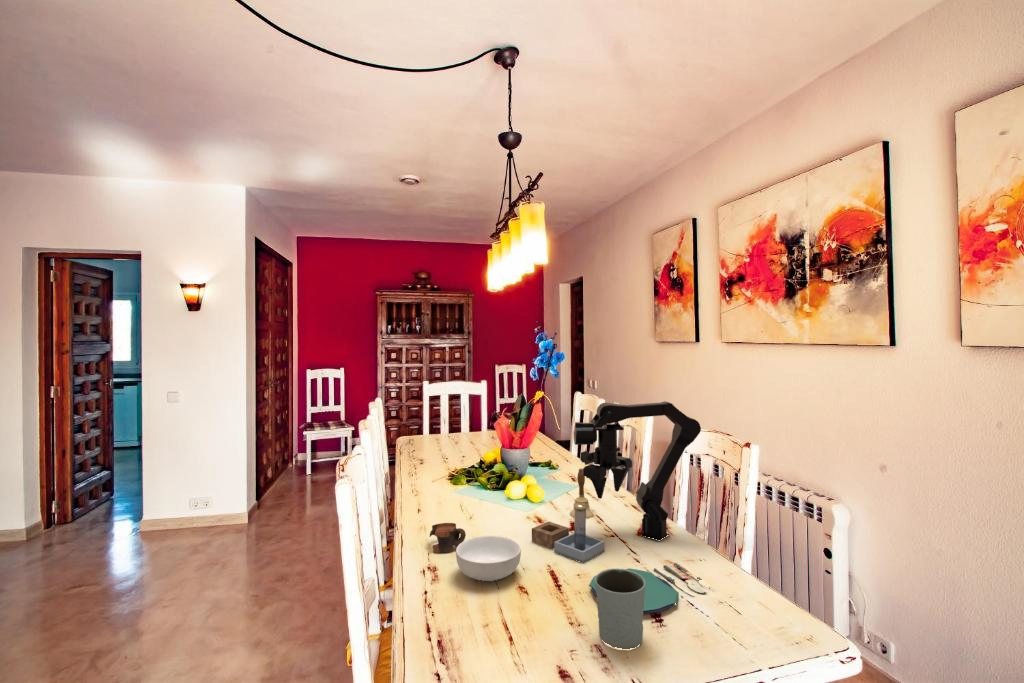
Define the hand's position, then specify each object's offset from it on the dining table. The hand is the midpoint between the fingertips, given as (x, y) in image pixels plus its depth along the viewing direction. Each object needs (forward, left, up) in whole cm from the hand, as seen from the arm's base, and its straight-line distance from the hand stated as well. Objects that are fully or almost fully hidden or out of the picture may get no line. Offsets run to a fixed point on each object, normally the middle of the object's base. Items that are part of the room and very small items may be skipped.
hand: (608, 494), depth 151 cm
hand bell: (+18, -10, -13) cm, 24 cm away
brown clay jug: (+31, +39, -13) cm, 51 cm away
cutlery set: (-26, +21, -14) cm, 36 cm away
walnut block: (+11, +15, -13) cm, 23 cm away
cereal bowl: (+9, +42, -13) cm, 45 cm away
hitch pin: (0, +15, -12) cm, 19 cm away
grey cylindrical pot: (-31, +42, -13) cm, 54 cm away
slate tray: (0, +15, -13) cm, 20 cm away
